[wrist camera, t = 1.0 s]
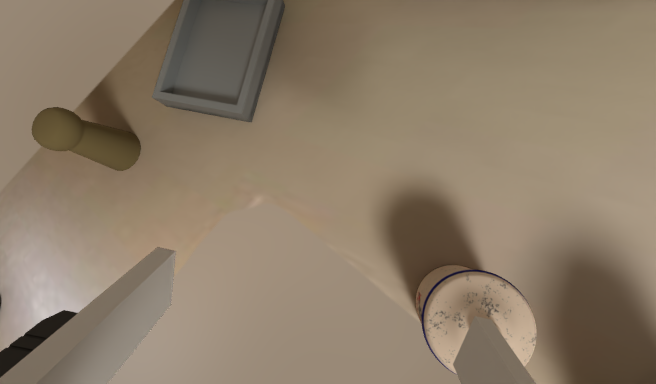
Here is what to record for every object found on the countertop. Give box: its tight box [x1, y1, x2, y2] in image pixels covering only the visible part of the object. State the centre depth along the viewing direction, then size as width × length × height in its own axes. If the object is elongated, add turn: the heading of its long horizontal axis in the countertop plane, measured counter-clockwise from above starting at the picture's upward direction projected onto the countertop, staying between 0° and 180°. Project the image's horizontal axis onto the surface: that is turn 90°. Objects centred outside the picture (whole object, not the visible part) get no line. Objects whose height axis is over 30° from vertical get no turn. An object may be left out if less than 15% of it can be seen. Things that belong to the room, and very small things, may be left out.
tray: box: [152, 0, 285, 122], centre depth 43 cm, size 18×14×3 cm
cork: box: [32, 107, 141, 171], centre depth 40 cm, size 6×6×11 cm
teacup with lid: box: [416, 265, 537, 374], centre depth 28 cm, size 12×9×12 cm
